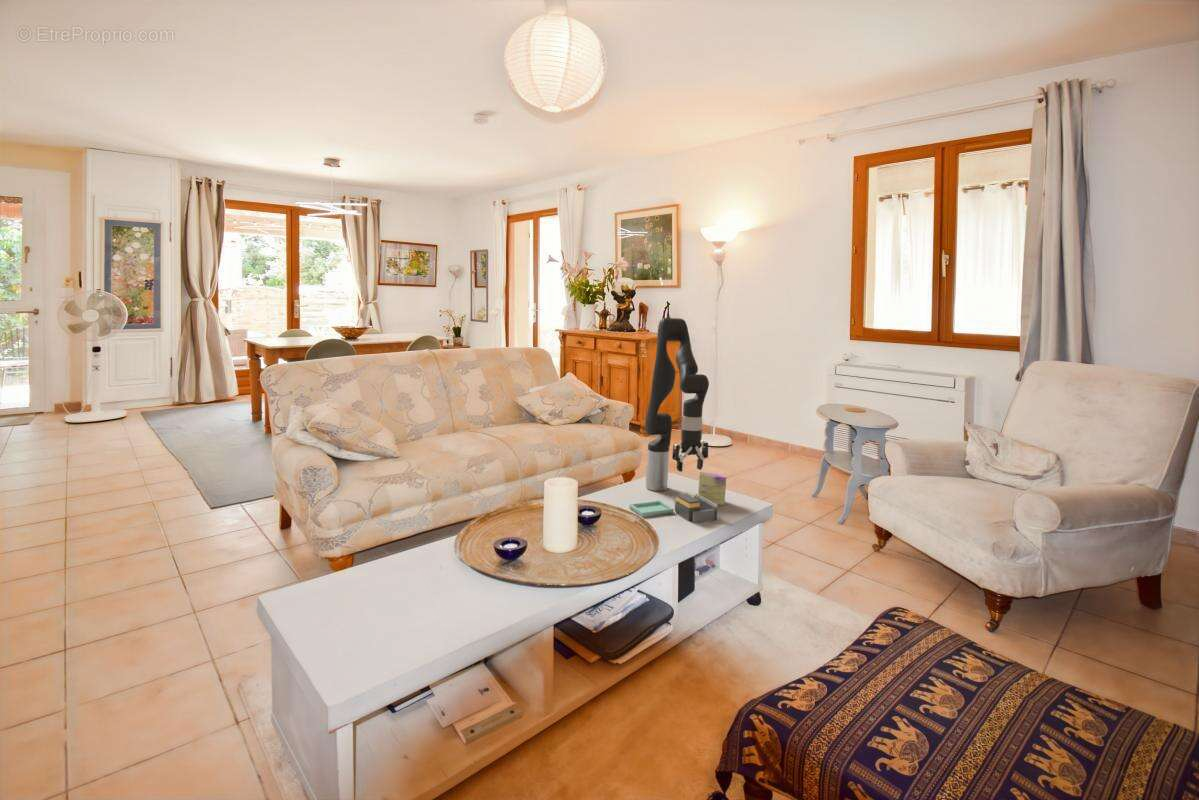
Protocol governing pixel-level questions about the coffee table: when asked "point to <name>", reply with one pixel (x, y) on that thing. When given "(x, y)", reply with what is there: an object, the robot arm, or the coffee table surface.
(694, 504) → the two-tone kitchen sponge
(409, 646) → the coffee table surface
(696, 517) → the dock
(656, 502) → the tray
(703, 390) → the robot arm
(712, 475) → the box
